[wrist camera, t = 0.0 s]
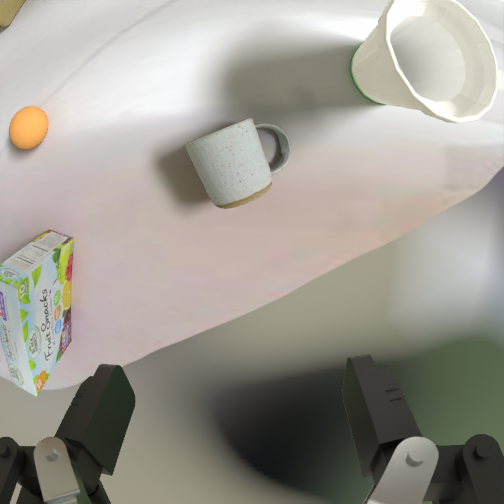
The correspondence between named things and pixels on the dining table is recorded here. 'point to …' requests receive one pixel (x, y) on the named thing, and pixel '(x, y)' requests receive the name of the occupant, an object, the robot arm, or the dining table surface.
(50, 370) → the snack box
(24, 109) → the ball
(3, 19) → the cheese
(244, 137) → the ceramic mug
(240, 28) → the dining table surface
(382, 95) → the cup
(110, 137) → the dining table surface
